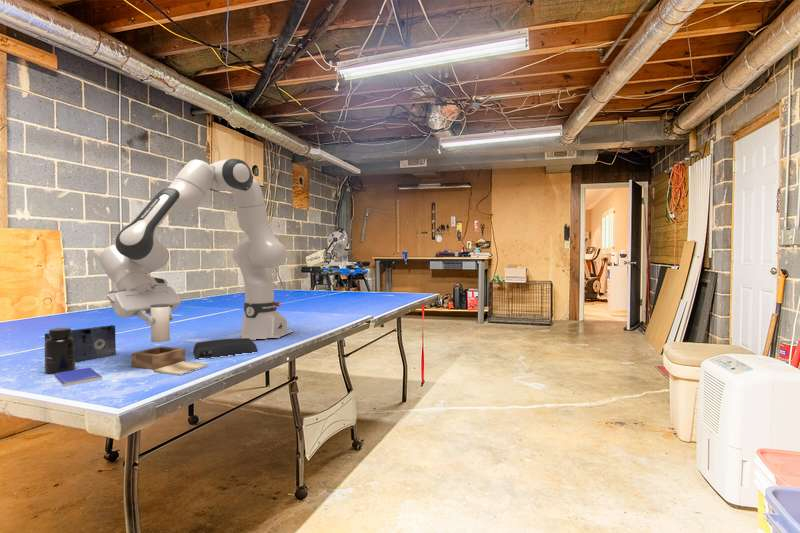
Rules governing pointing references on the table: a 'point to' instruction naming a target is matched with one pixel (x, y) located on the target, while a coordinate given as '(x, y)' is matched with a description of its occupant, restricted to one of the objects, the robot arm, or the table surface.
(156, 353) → the block
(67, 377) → the blue book
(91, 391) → the table surface
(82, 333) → the vhs cassette tape
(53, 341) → the supplement bottle
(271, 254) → the robot arm
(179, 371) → the pad
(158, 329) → the beige cylinder
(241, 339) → the external hard drive
